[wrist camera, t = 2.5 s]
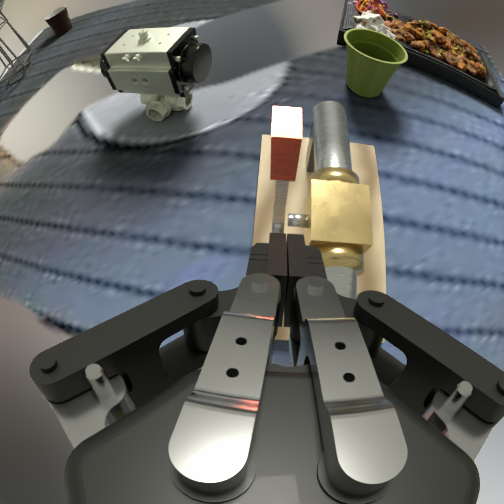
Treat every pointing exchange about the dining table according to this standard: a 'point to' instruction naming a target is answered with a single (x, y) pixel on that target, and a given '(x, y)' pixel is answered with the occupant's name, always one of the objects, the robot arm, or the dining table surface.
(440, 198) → the dining table surface
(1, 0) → the geometric lantern
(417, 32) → the food platter
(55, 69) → the dining table surface
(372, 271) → the mounting board
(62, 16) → the coffee mug
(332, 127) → the valve body
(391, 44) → the plant pot
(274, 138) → the valve lever
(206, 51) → the ball valve
